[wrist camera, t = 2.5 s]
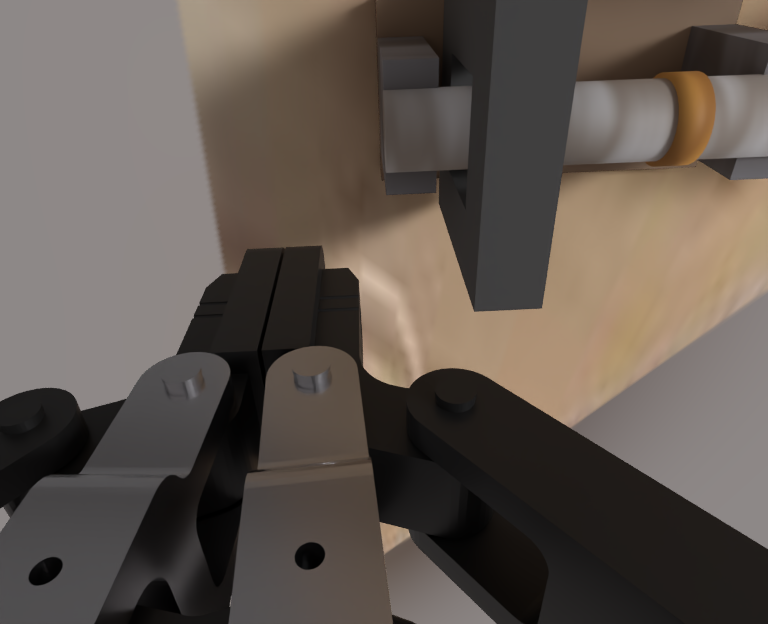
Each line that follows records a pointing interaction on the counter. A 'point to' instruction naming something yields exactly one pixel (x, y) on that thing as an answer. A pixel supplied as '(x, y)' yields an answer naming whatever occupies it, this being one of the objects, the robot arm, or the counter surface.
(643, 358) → the counter surface
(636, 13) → the pipe stand
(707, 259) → the counter surface
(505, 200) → the collar
